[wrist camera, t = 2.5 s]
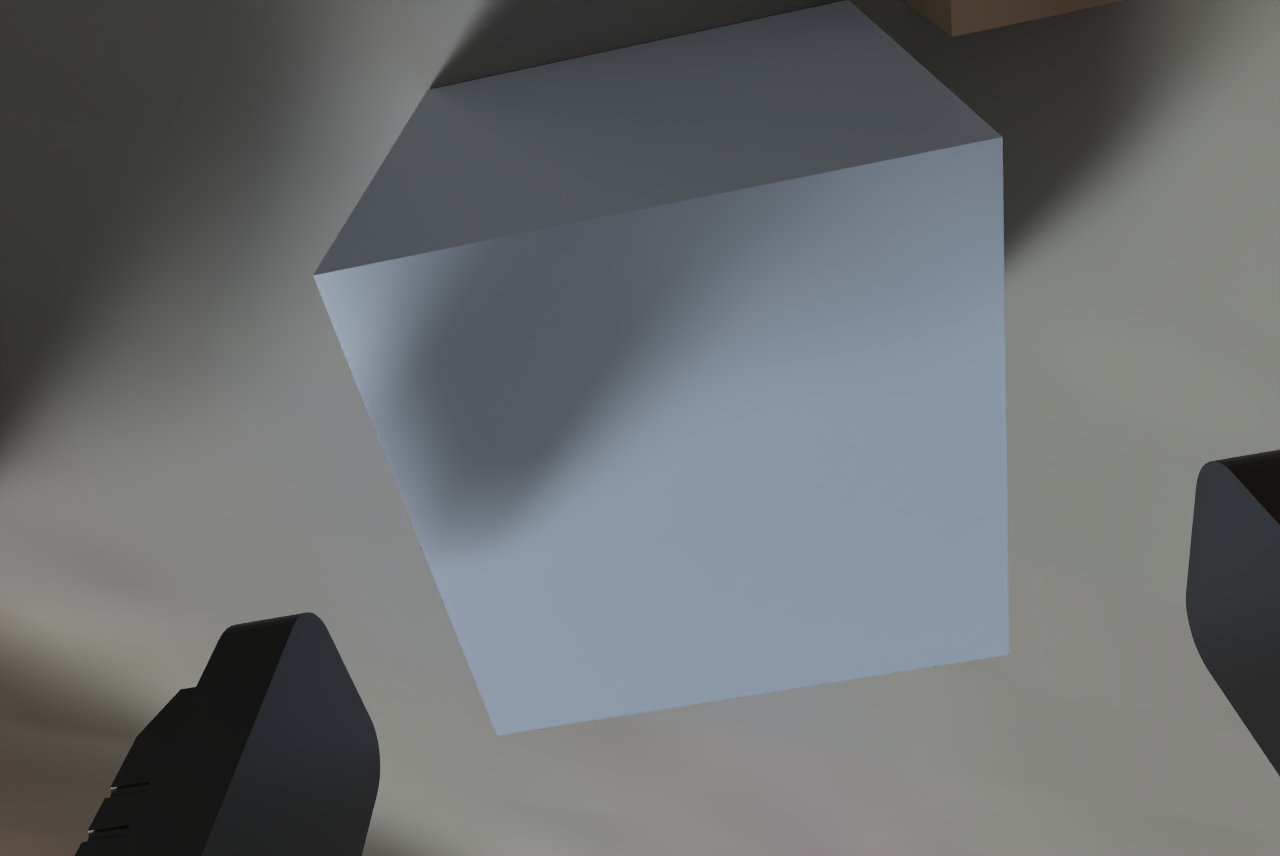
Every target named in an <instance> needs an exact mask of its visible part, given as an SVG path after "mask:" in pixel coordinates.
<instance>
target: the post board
mask: <svg viewBox="0 0 1280 856" xmlns="http://www.w3.org/2000/svg"><path fill="white" fill-rule="evenodd" d="M1122 1H1127V0H904V3H906V4H907V5H909V6H910V7H911V8H913V9H914V10H915V11H917V12H918V13H919V14H921V15H922V16H924V17H925V18H926V19H928V20H929V21H930V22H932V23H933V24H935V25H936V26H937V27H939V28H940V29H941V30H943V31H944V32H946V33H947V34H948V35H950V36H951V37H955V36H960V35H965V34H970V33H974V32H979V31H984V30H989V29H993V28H998V27H1003V26H1008V25H1012V24H1017V23H1022V22H1027V21H1031V20H1036V19H1041V18H1046V17H1051V16H1055V15H1060V14H1065V13H1070V12H1074V11H1079V10H1084V9H1089V8H1093V7H1098V6H1103V5H1108V4H1112V3H1117V2H1122Z"/></svg>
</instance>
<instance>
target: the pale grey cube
mask: <svg viewBox="0 0 1280 856" xmlns="http://www.w3.org/2000/svg"><path fill="white" fill-rule="evenodd" d="M313 277H314V279H315V282H316V284H317V287H318V289H319V292H320V294H321V297H322V299H323V302H324V304H325V307H326V309H327V312H328V314H329V317H330V319H331V322H332V324H333V327H334V329H335V332H336V334H337V337H338V339H339V342H340V344H341V347H342V349H343V352H344V354H345V357H346V359H347V362H348V364H349V367H350V369H351V372H352V374H353V377H354V379H355V382H356V384H357V387H358V389H359V392H360V394H361V397H362V399H363V402H364V404H365V407H366V409H367V412H368V414H369V417H370V419H371V422H372V424H373V427H374V429H375V432H376V434H377V437H378V439H379V442H380V444H381V447H382V449H383V452H384V454H385V457H386V459H387V462H388V464H389V467H390V469H391V472H392V474H393V477H394V479H395V482H396V484H397V487H398V489H399V492H400V494H401V497H402V499H403V502H404V504H405V507H406V509H407V512H408V514H409V517H410V519H411V522H412V524H413V527H414V529H415V532H416V534H417V537H418V539H419V542H420V544H421V547H422V549H423V552H424V554H425V557H426V559H427V562H428V564H429V567H430V569H431V572H432V574H433V577H434V579H435V582H436V584H437V587H438V589H439V592H440V594H441V597H442V599H443V602H444V604H445V607H446V609H447V612H448V614H449V617H450V619H451V622H452V624H453V627H454V629H455V632H456V634H457V637H458V639H459V642H460V644H461V647H462V649H463V652H464V654H465V657H466V659H467V662H468V664H469V667H470V669H471V672H472V674H473V677H474V679H475V682H476V684H477V687H478V689H479V692H480V694H481V697H482V699H483V702H484V704H485V707H486V709H487V712H488V714H489V717H490V719H491V722H492V724H493V727H494V729H495V732H496V734H497V736H498V735H504V734H510V733H517V732H523V731H529V730H536V729H542V728H548V727H555V726H561V725H567V724H574V723H580V722H586V721H592V720H599V719H605V718H611V717H618V716H624V715H630V714H637V713H643V712H649V711H656V710H662V709H668V708H675V707H681V706H687V705H694V704H700V703H706V702H712V701H719V700H725V699H731V698H738V697H744V696H750V695H757V694H763V693H769V692H776V691H782V690H788V689H795V688H801V687H807V686H814V685H820V684H826V683H833V682H839V681H845V680H851V679H858V678H864V677H870V676H877V675H883V674H889V673H896V672H902V671H908V670H915V669H921V668H927V667H934V666H940V665H946V664H953V663H959V662H965V661H972V660H978V659H984V658H990V657H997V656H1003V655H1009V591H1008V514H1007V437H1006V359H1005V282H1004V205H1003V137H1002V136H1001V135H1000V134H999V133H998V132H996V131H995V130H994V129H993V128H992V127H991V126H990V125H989V124H987V123H986V122H985V121H984V120H983V119H982V118H981V117H980V116H979V115H977V114H976V113H975V112H974V111H973V110H972V109H971V108H970V107H968V106H967V105H966V104H965V103H964V102H963V101H962V100H961V99H959V98H958V97H957V96H956V95H955V94H954V93H953V92H952V91H950V90H949V89H948V88H947V87H946V86H945V85H944V84H943V83H941V82H940V81H939V80H938V79H937V78H936V77H935V76H934V75H932V74H931V73H930V72H929V71H928V70H927V69H926V68H925V67H923V66H922V65H921V64H920V63H919V62H918V61H917V60H916V59H915V58H913V57H912V56H911V55H910V54H909V53H908V52H907V51H906V50H904V49H903V48H902V47H901V46H900V45H899V44H898V43H897V42H895V41H894V40H893V39H892V38H891V37H890V36H889V35H888V34H886V33H885V32H884V31H883V30H882V29H881V28H880V27H879V26H877V25H876V24H875V23H874V22H873V21H872V20H871V19H870V18H868V17H867V16H866V15H865V14H864V13H863V12H862V11H861V10H859V9H858V8H857V7H856V6H855V5H854V4H853V3H852V2H851V1H849V0H844V1H840V2H835V3H831V4H826V5H821V6H817V7H812V8H807V9H803V10H798V11H793V12H789V13H784V14H779V15H775V16H770V17H765V18H761V19H756V20H751V21H747V22H742V23H737V24H733V25H728V26H724V27H719V28H714V29H710V30H705V31H700V32H696V33H691V34H686V35H682V36H677V37H672V38H668V39H663V40H658V41H654V42H649V43H644V44H640V45H635V46H630V47H626V48H621V49H616V50H612V51H607V52H603V53H598V54H593V55H589V56H584V57H579V58H575V59H570V60H565V61H561V62H556V63H551V64H547V65H542V66H537V67H533V68H528V69H523V70H519V71H514V72H509V73H505V74H500V75H496V76H491V77H486V78H482V79H477V80H472V81H468V82H463V83H458V84H454V85H449V86H444V87H440V88H435V89H430V90H427V92H426V93H425V95H424V97H423V98H422V100H421V101H420V103H419V105H418V106H417V108H416V110H415V111H414V113H413V114H412V116H411V118H410V119H409V121H408V123H407V124H406V126H405V127H404V129H403V131H402V132H401V134H400V135H399V137H398V139H397V140H396V142H395V144H394V145H393V147H392V148H391V150H390V152H389V153H388V155H387V157H386V158H385V160H384V161H383V163H382V165H381V166H380V168H379V170H378V171H377V173H376V174H375V176H374V178H373V179H372V181H371V182H370V184H369V186H368V187H367V189H366V191H365V192H364V194H363V195H362V197H361V199H360V200H359V202H358V204H357V205H356V207H355V208H354V210H353V212H352V213H351V215H350V216H349V218H348V220H347V221H346V223H345V225H344V226H343V228H342V229H341V231H340V233H339V234H338V236H337V238H336V239H335V241H334V242H333V244H332V246H331V247H330V249H329V251H328V252H327V254H326V255H325V257H324V259H323V260H322V262H321V263H320V265H319V267H318V268H317V270H316V272H315V273H314V275H313Z"/></svg>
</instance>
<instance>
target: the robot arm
mask: <svg viewBox="0 0 1280 856" xmlns="http://www.w3.org/2000/svg"><path fill="white" fill-rule="evenodd" d="M1186 608H1187V615H1188V621H1189V625H1190V629H1191V633H1192V636H1193V639H1194V642H1195V645H1196V647H1197V650H1198V652H1199V654H1200V656H1201V658H1202V660H1203V662H1204V664H1205V666H1206V667H1207V669H1208V671H1209V672H1210V674H1211V675H1212V676H1213V678H1214V679H1215V681H1216V682H1217V684H1218V685H1219V687H1220V688H1221V690H1222V691H1223V693H1224V694H1225V696H1226V697H1227V699H1228V700H1229V702H1230V703H1231V705H1232V706H1233V708H1234V709H1235V711H1236V712H1237V714H1238V715H1239V717H1240V718H1241V719H1242V721H1243V722H1244V724H1245V725H1246V727H1247V728H1248V730H1249V731H1250V733H1251V734H1252V736H1253V737H1254V739H1255V740H1256V742H1257V743H1258V745H1259V746H1260V748H1261V749H1262V751H1263V752H1264V754H1265V755H1266V757H1267V758H1268V760H1269V761H1270V763H1271V764H1272V765H1273V767H1274V768H1275V770H1276V771H1277V773H1278V774H1279V776H1280V450H1275V451H1269V452H1263V453H1258V454H1252V455H1246V456H1240V457H1234V458H1228V459H1222V460H1216V461H1211V462H1208V463H1206V464H1205V465H1204V466H1203V467H1202V469H1201V471H1200V473H1199V476H1198V479H1197V485H1196V495H1195V506H1194V516H1193V527H1192V537H1191V548H1190V558H1189V569H1188V579H1187V590H1186ZM379 779H380V755H379V746H378V740H377V736H376V732H375V729H374V725H373V723H372V721H371V718H370V716H369V714H368V712H367V710H366V708H365V706H364V704H363V702H362V700H361V698H360V696H359V694H358V692H357V690H356V687H355V685H354V683H353V681H352V679H351V677H350V675H349V673H348V671H347V669H346V667H345V665H344V663H343V661H342V659H341V657H340V654H339V652H338V650H337V648H336V646H335V644H334V642H333V640H332V638H331V636H330V634H329V632H328V630H327V628H326V626H325V624H324V623H323V622H322V620H321V619H320V618H319V617H318V616H317V615H315V614H313V613H308V612H307V613H301V614H296V615H290V616H284V617H278V618H272V619H266V620H260V621H254V622H249V623H243V624H237V625H233V626H231V627H229V628H228V629H226V630H225V632H224V633H223V634H222V636H221V637H220V639H219V641H218V643H217V645H216V647H215V649H214V651H213V653H212V655H211V657H210V659H209V662H208V664H207V666H206V668H205V670H204V672H203V674H202V676H201V678H200V680H199V682H198V684H197V686H196V687H193V688H187V689H181V690H180V691H179V692H178V693H177V694H176V695H175V696H174V697H173V698H172V699H171V700H170V702H169V703H168V704H167V705H166V706H165V707H164V708H163V709H162V710H161V711H160V712H159V713H158V714H157V716H156V717H155V718H154V719H153V720H152V721H151V722H150V723H149V724H148V725H147V726H146V727H145V728H144V730H143V731H142V732H141V733H140V734H139V735H138V736H137V737H136V739H135V741H134V743H133V745H132V747H131V749H130V751H129V753H128V755H127V757H126V758H125V760H124V762H123V764H122V766H121V768H120V770H119V772H118V774H117V776H116V778H115V780H114V781H113V783H112V785H111V787H110V789H111V797H110V798H105V799H104V801H103V803H102V804H101V806H100V808H99V810H98V812H97V814H96V816H95V818H94V820H93V822H92V824H91V826H90V827H89V829H88V833H89V839H88V841H87V842H82V843H81V845H80V847H79V849H78V850H77V852H76V854H75V856H362V852H363V848H364V844H365V840H366V836H367V832H368V828H369V824H370V820H371V816H372V812H373V808H374V804H375V800H376V796H377V792H378V787H379Z"/></svg>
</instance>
